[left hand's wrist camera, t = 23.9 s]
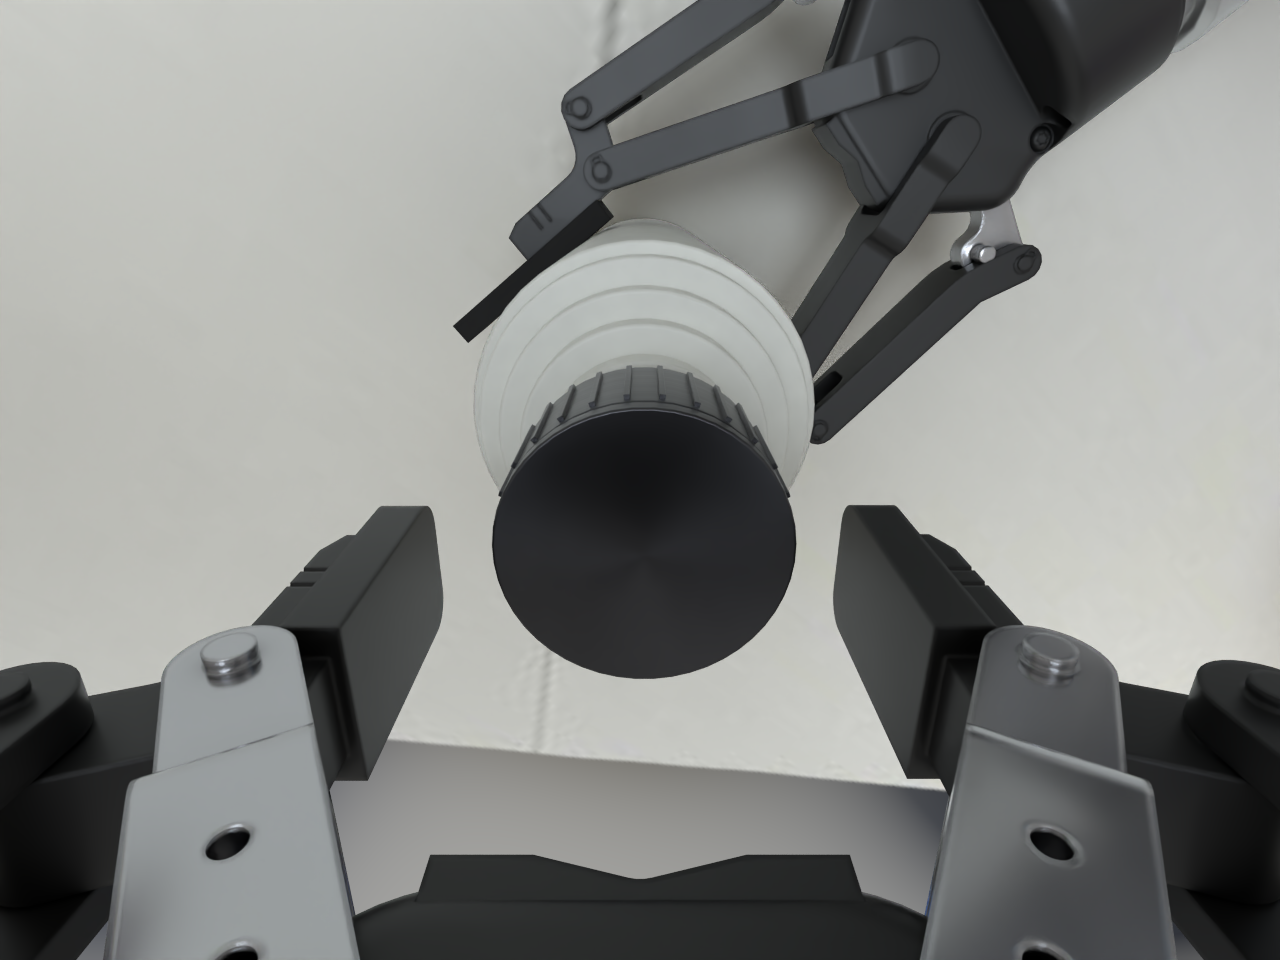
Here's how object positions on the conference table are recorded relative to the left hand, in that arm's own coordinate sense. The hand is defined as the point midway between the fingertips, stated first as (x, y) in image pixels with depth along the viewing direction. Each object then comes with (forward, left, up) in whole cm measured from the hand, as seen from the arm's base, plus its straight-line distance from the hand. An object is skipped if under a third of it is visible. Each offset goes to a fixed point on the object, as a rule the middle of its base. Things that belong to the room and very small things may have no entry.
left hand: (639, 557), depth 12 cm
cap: (+1, +1, +2) cm, 2 cm away
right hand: (-4, +1, -16) cm, 16 cm away
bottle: (+1, +1, -22) cm, 22 cm away
